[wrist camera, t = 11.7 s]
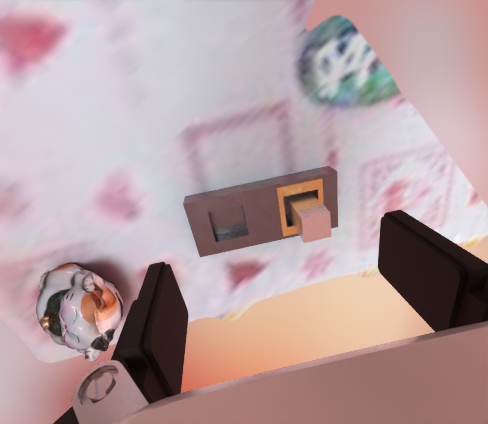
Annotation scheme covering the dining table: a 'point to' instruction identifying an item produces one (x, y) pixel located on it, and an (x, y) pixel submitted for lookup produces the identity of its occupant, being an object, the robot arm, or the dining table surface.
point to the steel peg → (308, 216)
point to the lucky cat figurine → (79, 309)
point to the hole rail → (255, 210)
